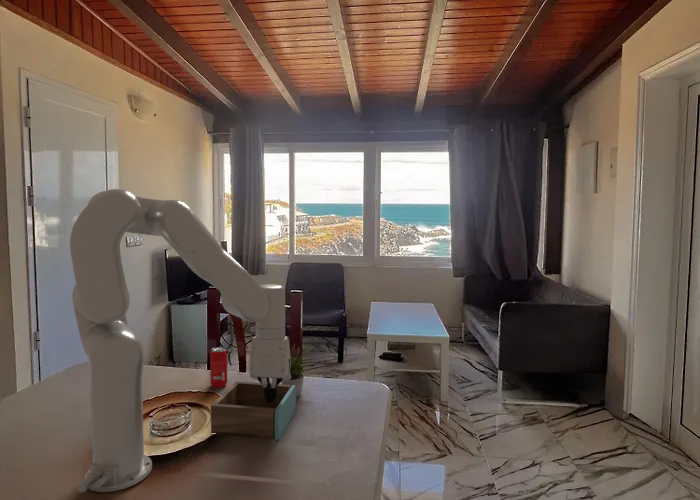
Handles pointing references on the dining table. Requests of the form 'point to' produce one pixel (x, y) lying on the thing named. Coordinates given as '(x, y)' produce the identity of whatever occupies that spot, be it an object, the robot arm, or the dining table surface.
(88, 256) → the robot arm
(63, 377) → the dining table surface
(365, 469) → the dining table surface
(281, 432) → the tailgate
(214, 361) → the beverage can
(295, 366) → the house plant
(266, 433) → the crate
